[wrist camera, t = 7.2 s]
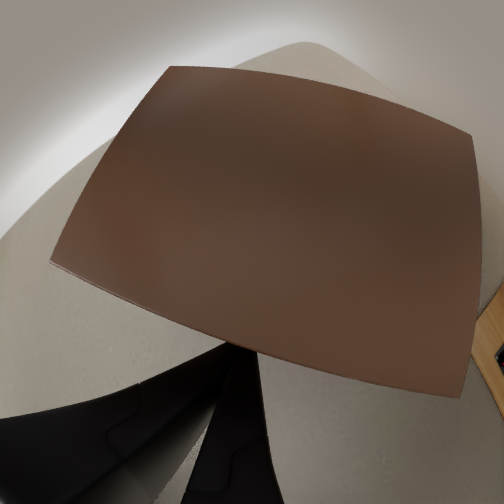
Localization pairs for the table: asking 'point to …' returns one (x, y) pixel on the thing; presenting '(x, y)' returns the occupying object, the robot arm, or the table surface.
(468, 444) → the table surface
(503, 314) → the board
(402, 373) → the walnut block
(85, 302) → the table surface
